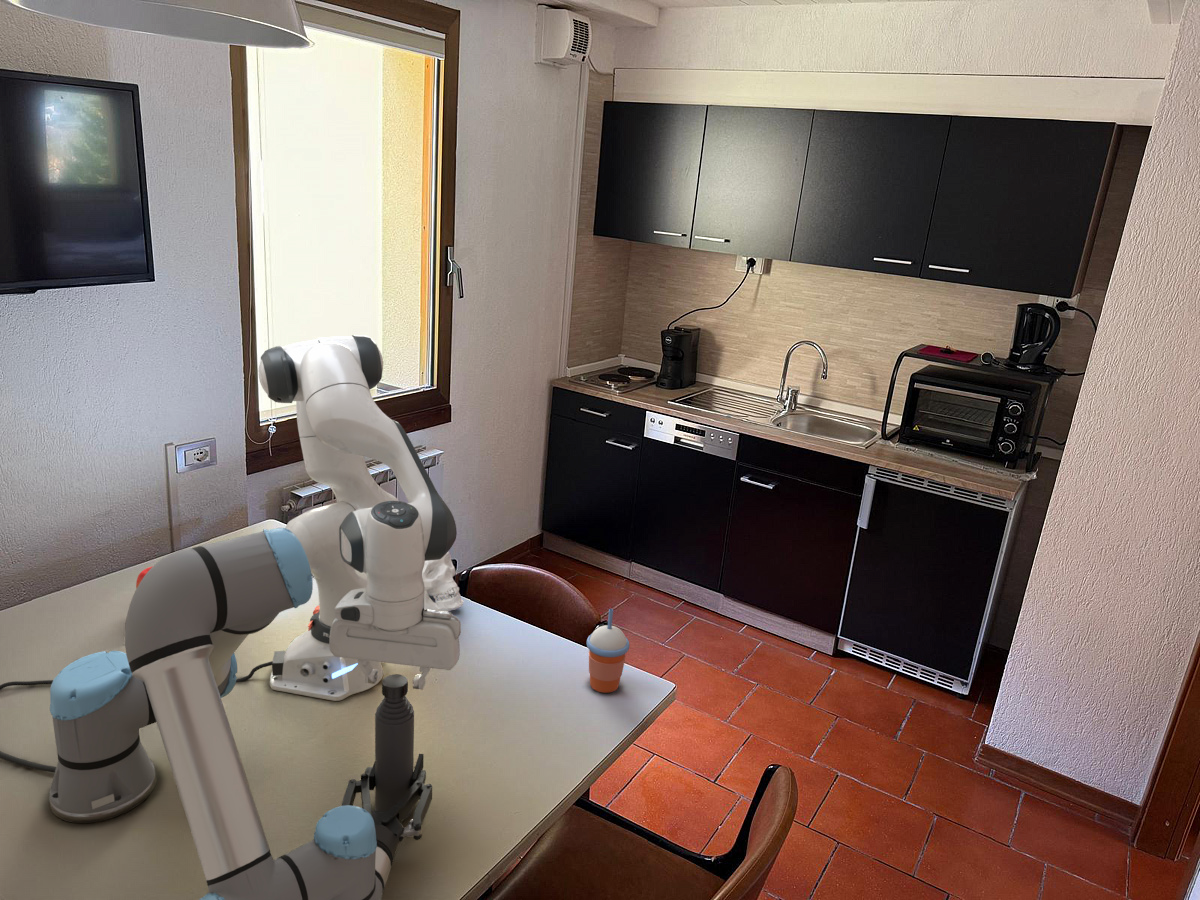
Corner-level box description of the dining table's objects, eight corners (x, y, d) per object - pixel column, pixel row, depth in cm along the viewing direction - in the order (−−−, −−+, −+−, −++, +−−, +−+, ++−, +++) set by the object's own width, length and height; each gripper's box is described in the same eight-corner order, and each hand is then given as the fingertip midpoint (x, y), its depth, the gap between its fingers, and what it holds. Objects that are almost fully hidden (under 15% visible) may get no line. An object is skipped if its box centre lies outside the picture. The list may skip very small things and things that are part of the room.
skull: (448, 622, 203) (451, 561, 199) (372, 599, 211) (374, 540, 207) (477, 602, 215) (480, 543, 211) (405, 581, 223) (406, 524, 219)
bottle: (414, 819, 141) (416, 692, 134) (376, 825, 139) (375, 695, 132) (411, 794, 147) (413, 670, 140) (374, 799, 145) (374, 674, 138)
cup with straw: (621, 700, 178) (628, 623, 173) (578, 692, 180) (585, 616, 174) (628, 677, 187) (636, 603, 181) (588, 670, 188) (594, 596, 183)
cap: (408, 698, 135) (408, 686, 135) (382, 701, 134) (382, 689, 133) (406, 684, 139) (406, 672, 138) (381, 686, 138) (381, 675, 137)
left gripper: (300, 877, 125) (345, 773, 147) (431, 885, 125) (456, 781, 148) (299, 835, 123) (344, 736, 145) (432, 844, 123) (457, 744, 145)
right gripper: (466, 604, 134) (464, 681, 138) (340, 590, 136) (341, 666, 140) (455, 623, 128) (453, 703, 132) (323, 608, 130) (326, 687, 134)
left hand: (401, 759), depth 146 cm, fingers closed on bottle, 6 cm apart
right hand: (395, 684), depth 136 cm, fingers open, 6 cm apart
